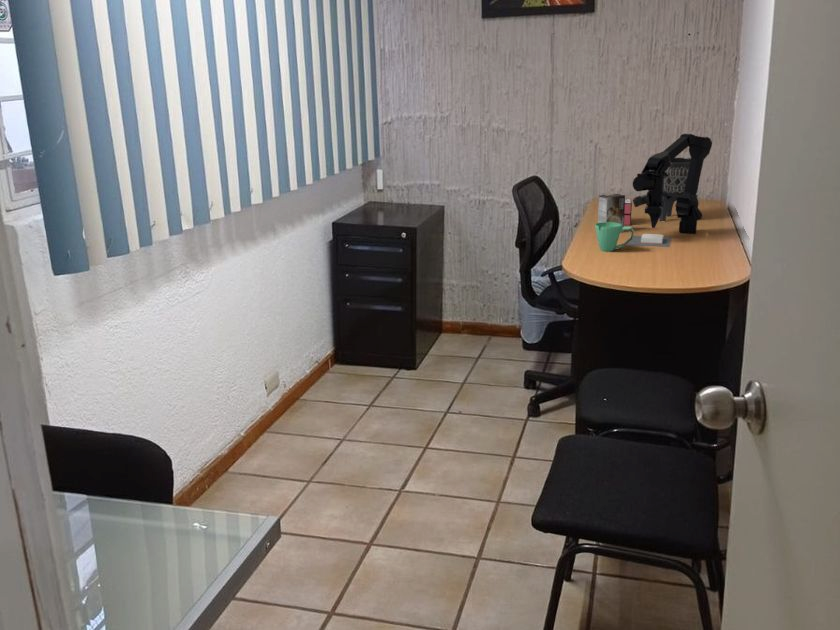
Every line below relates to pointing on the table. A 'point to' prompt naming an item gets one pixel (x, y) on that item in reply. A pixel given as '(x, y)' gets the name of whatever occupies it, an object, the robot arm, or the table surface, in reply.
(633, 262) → the table surface
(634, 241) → the mat
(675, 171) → the planter
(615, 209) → the coffee box
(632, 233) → the mug
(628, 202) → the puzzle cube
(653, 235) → the tile
